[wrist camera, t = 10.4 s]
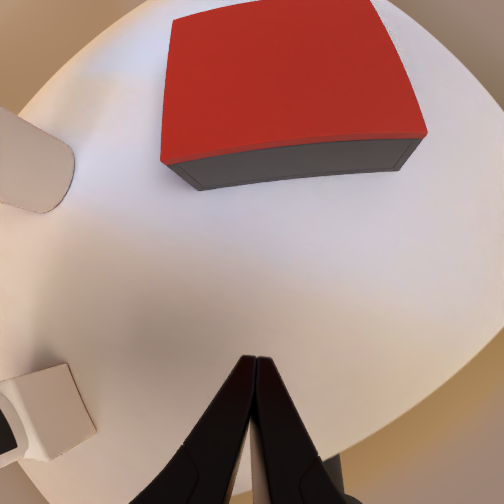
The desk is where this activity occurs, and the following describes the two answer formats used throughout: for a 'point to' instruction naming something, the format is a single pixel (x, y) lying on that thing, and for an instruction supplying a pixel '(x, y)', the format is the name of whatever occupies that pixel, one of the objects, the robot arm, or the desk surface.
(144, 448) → the desk surface
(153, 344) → the desk surface
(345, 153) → the box
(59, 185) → the pill bottle
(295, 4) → the lid
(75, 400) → the container
